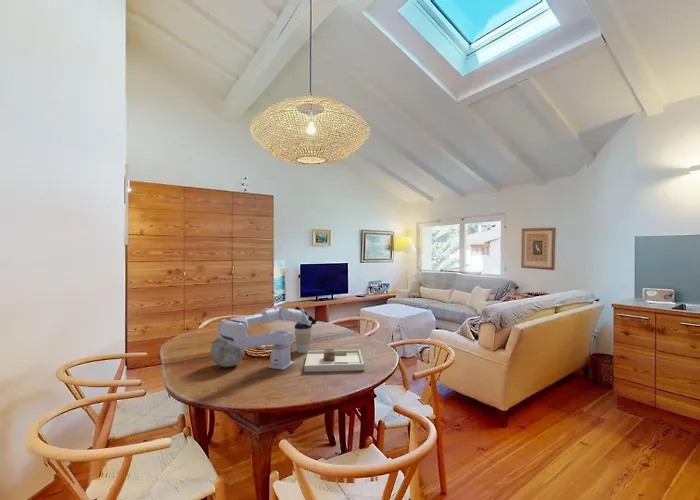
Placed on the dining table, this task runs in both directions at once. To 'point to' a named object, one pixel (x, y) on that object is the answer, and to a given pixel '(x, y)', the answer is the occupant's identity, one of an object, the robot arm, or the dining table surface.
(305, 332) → the coffee cup
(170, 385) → the dining table surface
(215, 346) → the decorative orb
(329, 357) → the walnut block
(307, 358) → the board
